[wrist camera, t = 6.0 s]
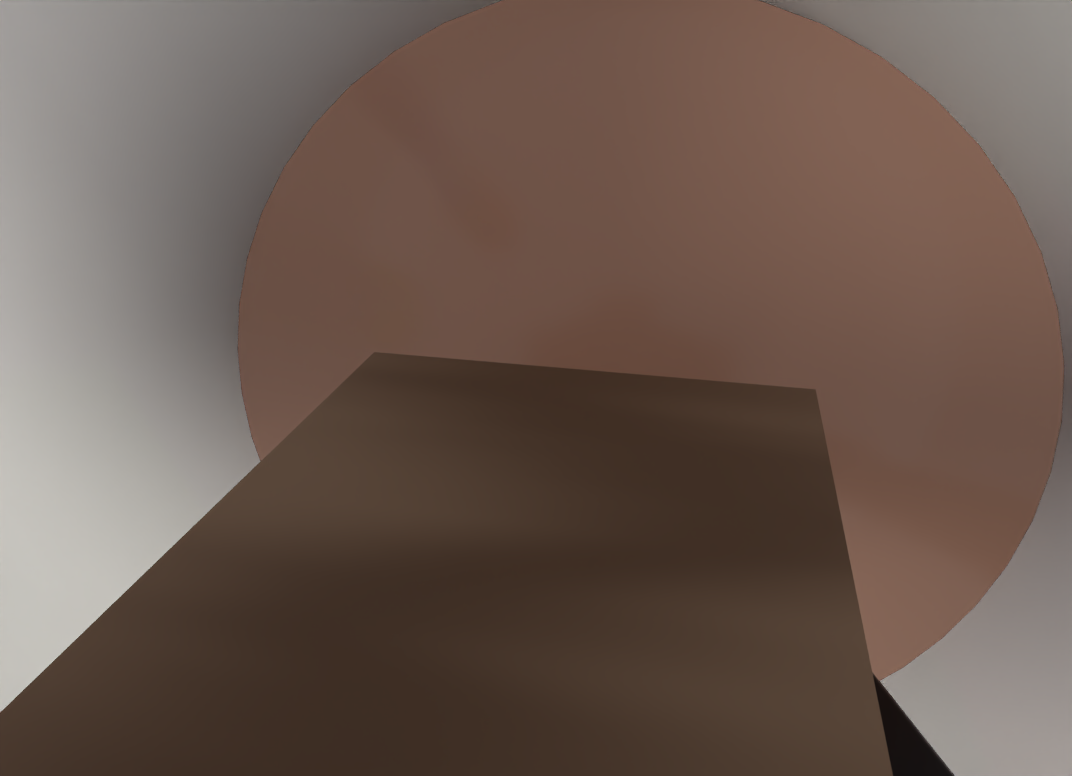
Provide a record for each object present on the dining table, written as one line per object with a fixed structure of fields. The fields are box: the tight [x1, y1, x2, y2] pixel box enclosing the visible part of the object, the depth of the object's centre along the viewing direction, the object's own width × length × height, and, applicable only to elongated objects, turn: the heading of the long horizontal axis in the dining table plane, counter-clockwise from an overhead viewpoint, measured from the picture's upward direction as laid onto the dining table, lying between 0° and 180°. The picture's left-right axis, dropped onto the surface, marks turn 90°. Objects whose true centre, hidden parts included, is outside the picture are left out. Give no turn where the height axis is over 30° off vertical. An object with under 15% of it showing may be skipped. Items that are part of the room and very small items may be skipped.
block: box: [0, 352, 893, 776], centre depth 7 cm, size 5×5×6 cm
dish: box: [238, 0, 1064, 681], centre depth 13 cm, size 12×12×1 cm
